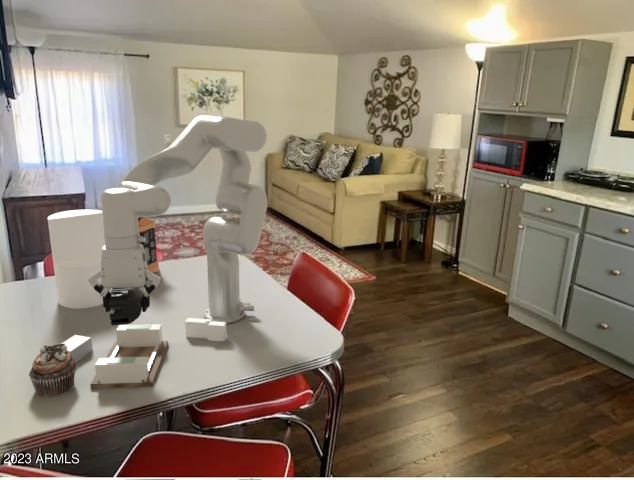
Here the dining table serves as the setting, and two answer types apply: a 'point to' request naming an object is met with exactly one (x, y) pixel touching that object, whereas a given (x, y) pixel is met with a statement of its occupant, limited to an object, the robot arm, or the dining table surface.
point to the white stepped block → (205, 329)
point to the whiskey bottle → (149, 242)
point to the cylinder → (77, 255)
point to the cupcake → (53, 371)
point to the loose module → (78, 346)
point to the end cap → (125, 305)
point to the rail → (149, 361)
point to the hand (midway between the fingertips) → (127, 309)
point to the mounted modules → (129, 366)
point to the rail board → (136, 353)
